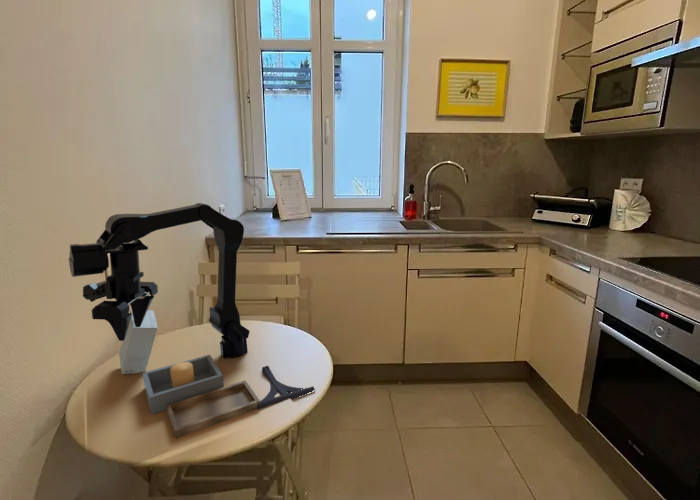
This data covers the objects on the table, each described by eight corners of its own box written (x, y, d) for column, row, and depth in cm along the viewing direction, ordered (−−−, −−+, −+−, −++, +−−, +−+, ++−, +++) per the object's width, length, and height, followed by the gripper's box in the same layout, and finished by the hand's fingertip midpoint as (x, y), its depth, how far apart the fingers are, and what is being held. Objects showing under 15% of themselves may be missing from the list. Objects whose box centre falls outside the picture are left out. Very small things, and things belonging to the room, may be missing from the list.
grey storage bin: (211, 371, 107) (209, 354, 106) (224, 393, 98) (222, 375, 96) (145, 391, 99) (142, 372, 98) (152, 417, 89) (149, 397, 88)
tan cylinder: (192, 381, 101) (190, 360, 100) (197, 391, 97) (194, 369, 96) (171, 387, 99) (168, 365, 97) (175, 398, 95) (172, 375, 93)
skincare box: (145, 373, 107) (159, 329, 102) (119, 374, 103) (133, 328, 98) (141, 352, 113) (155, 309, 108) (117, 352, 109) (130, 308, 104)
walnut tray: (246, 389, 99) (245, 380, 99) (260, 410, 91) (260, 401, 91) (167, 415, 90) (166, 405, 89) (176, 441, 82) (174, 431, 81)
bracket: (289, 367, 110) (289, 358, 110) (314, 394, 98) (315, 384, 98) (237, 381, 103) (237, 371, 102) (258, 412, 90) (258, 401, 90)
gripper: (111, 258, 101) (116, 317, 104) (62, 280, 83) (69, 350, 86) (156, 260, 101) (160, 318, 105) (117, 282, 83) (123, 352, 87)
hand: (130, 333), depth 96 cm, fingers open, 7 cm apart
